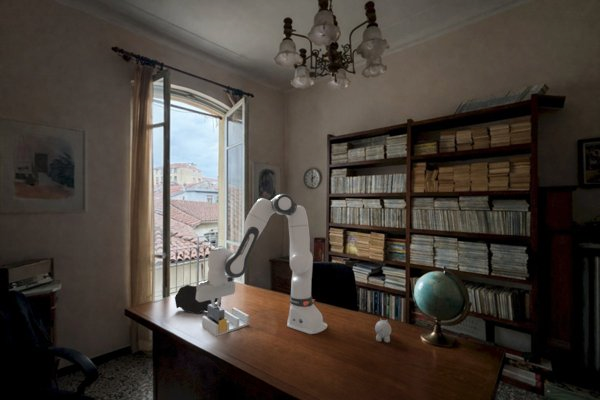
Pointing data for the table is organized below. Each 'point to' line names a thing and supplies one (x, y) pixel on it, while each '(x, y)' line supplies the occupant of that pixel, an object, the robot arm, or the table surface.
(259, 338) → the table surface
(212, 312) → the blanking panel
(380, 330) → the toy rhinoceros
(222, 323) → the rack
